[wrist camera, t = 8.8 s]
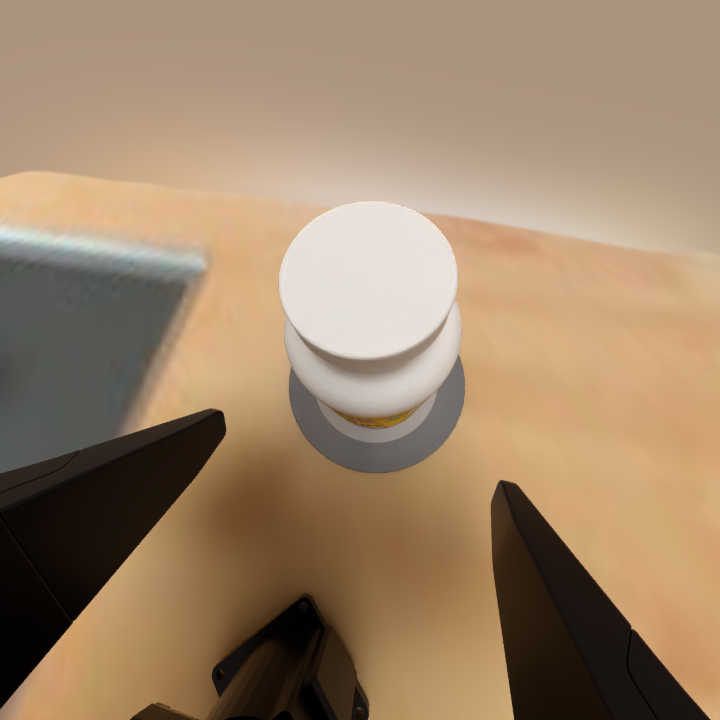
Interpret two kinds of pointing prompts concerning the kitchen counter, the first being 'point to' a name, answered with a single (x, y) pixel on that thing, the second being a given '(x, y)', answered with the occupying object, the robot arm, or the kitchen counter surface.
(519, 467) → the kitchen counter surface
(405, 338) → the supplement bottle
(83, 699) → the kitchen counter surface
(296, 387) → the gray plate
